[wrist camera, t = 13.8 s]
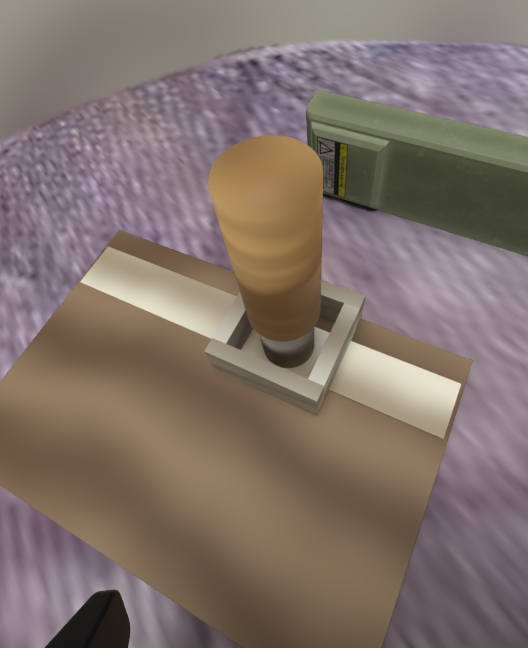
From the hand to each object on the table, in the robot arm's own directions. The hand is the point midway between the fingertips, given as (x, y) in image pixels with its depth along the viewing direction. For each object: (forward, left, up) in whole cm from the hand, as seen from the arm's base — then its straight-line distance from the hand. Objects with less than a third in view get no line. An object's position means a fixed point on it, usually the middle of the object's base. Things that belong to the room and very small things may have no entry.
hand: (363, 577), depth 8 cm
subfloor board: (+3, +9, -14) cm, 16 cm away
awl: (+8, +6, -12) cm, 16 cm away
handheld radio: (+21, -2, -14) cm, 26 cm away
